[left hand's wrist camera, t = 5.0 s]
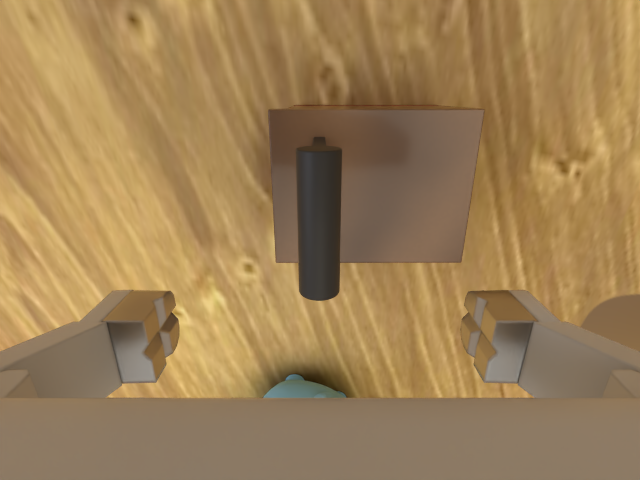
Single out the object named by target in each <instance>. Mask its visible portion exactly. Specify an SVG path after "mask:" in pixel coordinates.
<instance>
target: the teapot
mask: <svg viewBox="0 0 640 480" xmlns="http://www.w3.org/2000/svg"><path fill="white" fill-rule="evenodd" d="M263 398H346V395H345V394H344V393H342V392H339V391H335V390H333V389H331V388H329V387H327V386H324V385H321V384H318V383H315V382H310V381H304V379H303V377H302V376H300V375H297V374H293V375H290V376H288V377H287V378H286V380H285V381H283V382H280V383H279V384H277V385H276V386H274V387H273V388H271V389H270V390H269V391H268V392H267V393H266V394H265V395H264V397H263Z"/></svg>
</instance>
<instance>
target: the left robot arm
mask: <svg viewBox="0 0 640 480" xmlns="http://www.w3.org/2000/svg"><path fill="white" fill-rule="evenodd" d="M175 306H176V303H175V299H174V294H173V293H172V292H171V291H150V290H115V291H112V292H111V293H110V294H109V295H108V296H107V297H105V298H104V299H103V300H102V301H101V302H100V303H99V304H98V305H97V306H96V307H95V308H94V309H92V310H91V311H90V312H89V313H88V314H87V315H86V316H85V317H84V318H83V319H82V320H81V321H80V322H71V323H69V324H67V325H64V326H62V327H59V328H57V329H54V330H52V331H49V332H47V333H45V334H42V335H40V336H37V337H35V338H32V339H30V340H27V341H25V342H23V343H20V344H18V345H15V346H13V347H10V348H8V349H5V350H3V351H1V352H0V480H640V352H639V351H637V350H634V349H632V348H629V347H627V346H624V345H622V344H620V343H617V342H615V341H612V340H610V339H607V338H605V337H603V336H600V335H598V334H595V333H593V332H590V331H588V330H586V329H583V328H581V327H578V326H576V325H573V324H571V323H569V322H561V321H559V320H558V319H557V318H556V317H555V316H554V315H553V314H552V313H551V312H550V311H549V310H548V309H547V308H545V307H544V306H543V305H542V304H541V303H540V302H539V301H538V300H537V299H536V298H535V297H534V296H533V295H531V294H530V293H529V292H528V291H525V290H495V291H470V292H468V293H467V295H466V298H465V303H464V306H465V307H466V309H467V310H468V313H467V314H466V315H465V316H464V317H463V318H462V321H461V329H460V330H461V340H462V343H463V346H464V348H465V350H466V352H467V353H468V354H469V355H471V356H473V357H474V358H475V359H474V366H475V368H476V369H477V371H478V373H479V375H480V376H481V378H482V380H483V381H484V383H518V385H519V386H520V387H521V388H523V389H524V390H525V391H527V392H528V393H529V394H531V395H532V396H533V397H535V398H105V397H107V396H108V395H109V394H111V393H112V392H113V391H115V390H116V389H117V388H119V387H120V386H121V385H122V383H156V382H157V380H158V378H159V376H160V375H161V373H162V371H163V369H164V368H165V366H166V359H165V358H166V357H167V356H169V355H171V354H172V353H173V352H174V350H175V348H176V346H177V343H178V339H179V321H178V318H177V317H176V316H175V315H174V314H173V313H172V310H173V309H174V307H175Z"/></svg>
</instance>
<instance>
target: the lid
mask: <svg viewBox="0 0 640 480" xmlns="http://www.w3.org/2000/svg"><path fill="white" fill-rule="evenodd" d="M268 116H269V136H270V156H271V175H272V195H273V215H274V235H275V255H276V263H299V292H300V294H301V295H302V296H303V297H305V298H307V299H310V300H316V301H322V300H328V299H331V298H334V297H335V296H336V295H337V294H338V293H339V283H340V263H461V261H462V254H463V247H464V241H465V234H466V228H467V221H468V215H469V208H470V202H471V195H472V189H473V182H474V176H475V169H476V163H477V156H478V150H479V143H480V137H481V130H482V124H483V117H484V109H269V110H268Z"/></svg>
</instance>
